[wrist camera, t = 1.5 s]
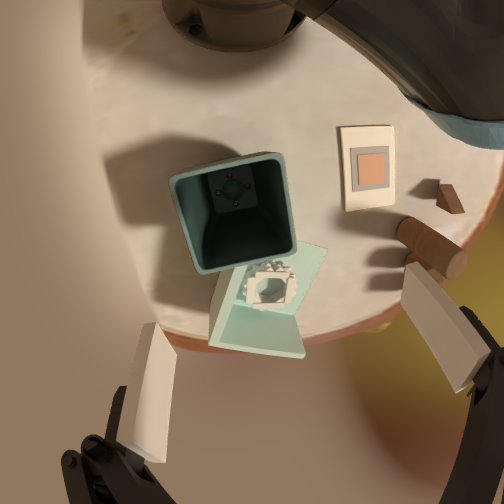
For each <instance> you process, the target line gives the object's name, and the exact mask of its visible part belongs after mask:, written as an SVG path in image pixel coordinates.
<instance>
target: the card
mask: <svg viewBox="0 0 504 504" xmlns="http://www.w3.org/2000/svg"><path fill="white" fill-rule="evenodd" d="M340 135H341V147H342V160H343V175H344V197H345V211H346V212H349V211H355V210H362V209H368V208H375V207H381V206H388V205H394V199H395V144H394V126H361V127H340Z"/></svg>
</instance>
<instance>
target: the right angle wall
mask: <svg viewBox="0 0 504 504" xmlns="http://www.w3.org/2000/svg"><path fill="white" fill-rule="evenodd" d="M296 241H297V240H296ZM327 250H328V249H325V248H322V247H318V246H315V245H311V244H308V243H304V242H301V241H297V252H296V253H295V254H293V255H291V256H288V257H282V258H277V259H272V260H267V261H263V262H258V263H254V264H249V265H244V266H240V267H235V268H231V269H227V270H223V271H220V274H219V277H218V281H217V284H216V287H215V290H214V293H213V297H212V300H211V303H210V317H209V340H208V345H210V346H215V347H221V348H227V349H233V350H239V351H245V352H252V353H259V354H266V355H275V356H282V357H291V358H302V359H303V358H304V356H305V355H306V352H305V349H304V346H303V343H302V339H301V336H300V333H299V330H298V326H297V323H296V320H295V317H294V315H295V313H296V311H297V309H298V307H299V305H300V303H301V302H302V300H303V298H304V296H305V294H306V292H307V290H308V288H309V286H310V284H311V282H312V280H313V278H314V276H315V274H316V272H317V270H318V268H319V266H320V264H321V262H322V260H323V258H324V256H325V254H326V252H327Z"/></svg>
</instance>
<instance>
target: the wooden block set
mask: <svg viewBox="0 0 504 504" xmlns="http://www.w3.org/2000/svg"><path fill="white" fill-rule="evenodd" d="M436 206H438V207H440V208H442V209H444V210H445V211H447V212H449V213H451V214H460V213H465V211H464V209H463V207H462V205H461V202H460V200H459V198H458V196H457V194H456V192H455V190H454V188H453V186H452V184H441V185H439V186H438V195H437V202H436ZM397 237H398V240H399V241H400V242H401V243H403V244H404V245H405V246H406V247H408V248H409V249H410V250H412V251H413V252H414V253H413V254H409V255H408V256H407V260H406V264H405V269H406V265H407V264H410V263H414V262H418V263H419V264H420V265H421V266H422V267H423V268H424V269H425V270H426V271H427V272H428V273H429V274H430V276H431V277H432V278H433V279H434V280H435V281H436V282H437V283H438V284H439V286H440V287H441V288H442V286H443V283H444V279H443V277H445V278H446V279H449V280H451V279H454V278H456V277H457V276H458V275H459V274H460V273H461V272H462V271H463V269H464V267H465V265H466V262H467V254H466V252H465V251H464V250H463V249H462V248H460V247H459V246H457V245H456V244H454V243H453V242H452V241H450V240H449V239H447V238H446V237H444V236H443V235H441V234H440V233H438V232H436V231H435V230H433V229H432V228H430V227H429V226H427V225H425V224H424V223H422V222H421V221H419V220H417V219H416V218H407V219H405V220H404V221H402V223H401V224H400V225H399V227H398V230H397ZM405 269H404V273H405Z"/></svg>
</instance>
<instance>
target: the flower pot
mask: <svg viewBox="0 0 504 504" xmlns="http://www.w3.org/2000/svg"><path fill="white" fill-rule="evenodd" d="M228 173H231V174H232V177H230V178H229V177H227V174H228ZM168 183H169V189H170V192H171V195H172V198H173V201H174V204H175V207H176V210H177V213H178V216H179V219H180V223H181V226H182V229H183V232H184V235H185V239H186V241H187V245H188V248H189V251H190V254H191V257H192V260H193V263H194V266H195V269H196V271H197V272H198V273H199V274H200V275H203V274H210V273H214V272H218V271H223V270H227V269H231V268H235V267H240V266H244V265H249V264H254V263H258V262H263V261H267V260H272V259H277V258H282V257H288V256H291V255H293V254H295V253H296V252H297V241H296V235H295V228H294V222H293V215H292V208H291V202H290V195H289V189H288V182H287V174H286V167H285V161H284V157H283V155H282V154H281V153H276V152H258V153H253V154H248V155H244V156H239V157H234V158H230V159H225V160H221V161H217V162H212V163H208V164H204V165H199V166H195V167H191V168H188V169H185V170H183V171H181V172H179V173H177V174H175V175H173V176H172V177H170V178H169V182H168ZM246 184H249V185H250V188H246V187H245V186H246ZM217 190H219V191H220V192H221V194H220V195H217V194H216V191H217ZM234 201H238V205H234Z"/></svg>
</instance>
